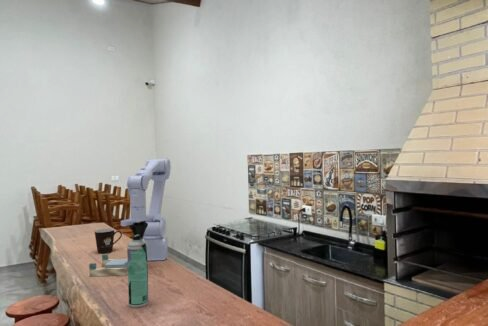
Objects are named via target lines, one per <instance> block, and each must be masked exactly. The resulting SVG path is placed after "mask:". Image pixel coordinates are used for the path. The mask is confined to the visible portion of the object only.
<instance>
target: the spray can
mask: <svg viewBox="0 0 488 326" xmlns="http://www.w3.org/2000/svg"><path fill="white" fill-rule="evenodd" d="M146 244H147V243H146V242H144V239H143V240H142V239H141V238H140V235H139V234H137V235H134V234H133V238H132V239H131V241H130V242H129V243H127V247H126V248H127V249H126V250H127V252H126V255H127V259H128V270H127V279H128V280H127V282H128V288H127V289H128V306H129V307H131V308H135V309H136V308H142V307H145V306H148V305H149V271H148V269H149V268H148V266H149V265H148V261H147V245H146Z"/></svg>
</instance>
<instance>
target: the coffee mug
mask: <svg viewBox="0 0 488 326" xmlns="http://www.w3.org/2000/svg"><path fill="white" fill-rule="evenodd" d="M117 233H119V234H120V236H119V237H118V238H117V240H114V239H115V238H114V237H115V235H116V234H117ZM122 236H123V233H122V232H121V231H120V230H116V231H115V229H114V228H101V229H96V230H94V238H95V244H96V250H97V254H100V255H103V254H110V253H112V252H113V250H114V245H115V244H116V243H117V242H119V240H120V239H121V238H122Z"/></svg>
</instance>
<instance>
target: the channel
mask: <svg viewBox="0 0 488 326" xmlns="http://www.w3.org/2000/svg"><path fill="white" fill-rule="evenodd" d="M101 257H102V258H101V262H102V264H101V265H102V267H104V268H97V262H95V263H94V262H92V263H89V265H88V269H89V277H91V278H92V277H115V276H117V277H119V276H120V277H121V276H128V270H127V268H105V264H107V263H108V262H110V261H111V260H112V259H113V258H109V253H106V254H101Z"/></svg>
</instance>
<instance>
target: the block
mask: <svg viewBox="0 0 488 326" xmlns="http://www.w3.org/2000/svg"><path fill="white" fill-rule="evenodd" d="M111 259H112V260H111V261H110V262H108V263H107V264H105V266H104V268H127V271H128V258H111Z"/></svg>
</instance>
